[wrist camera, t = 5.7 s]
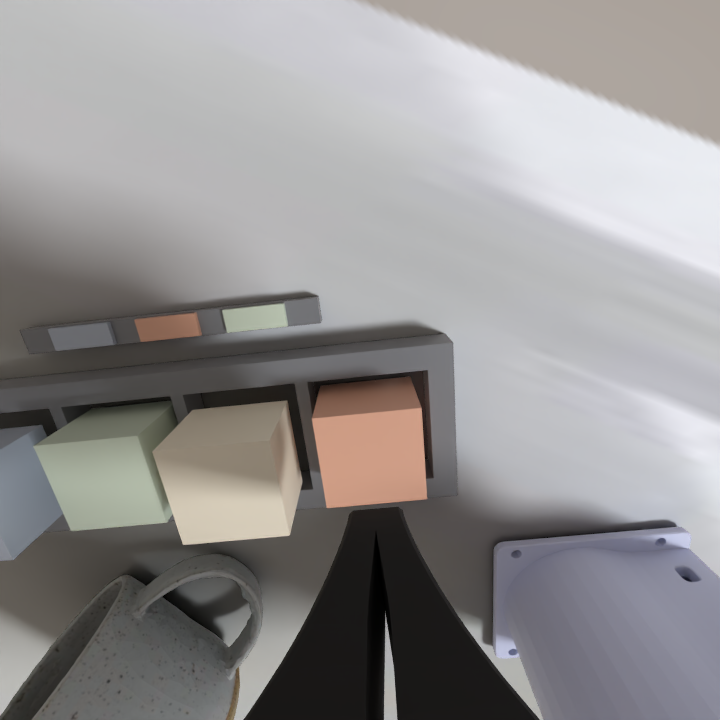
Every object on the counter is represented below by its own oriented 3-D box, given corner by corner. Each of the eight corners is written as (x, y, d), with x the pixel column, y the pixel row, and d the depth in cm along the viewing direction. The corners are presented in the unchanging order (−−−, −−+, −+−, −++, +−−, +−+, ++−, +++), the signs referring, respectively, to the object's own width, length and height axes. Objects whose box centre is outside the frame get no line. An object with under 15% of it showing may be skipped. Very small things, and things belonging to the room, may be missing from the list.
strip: (318, 296, 15) (316, 298, 14) (321, 320, 15) (319, 324, 14) (30, 327, 15) (15, 331, 14) (39, 350, 15) (25, 355, 15)
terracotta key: (410, 376, 15) (421, 407, 13) (415, 454, 17) (427, 499, 14) (320, 385, 16) (311, 418, 13) (332, 462, 17) (326, 508, 14)
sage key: (177, 399, 16) (137, 435, 13) (199, 474, 17) (166, 522, 14) (91, 408, 16) (33, 445, 13) (119, 482, 17) (71, 531, 14)
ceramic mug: (186, 689, 22) (104, 907, 15) (67, 620, 20) (-93, 831, 13) (305, 596, 20) (278, 797, 13) (185, 509, 18) (73, 686, 11)
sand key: (287, 400, 14) (269, 440, 12) (302, 481, 16) (289, 535, 13) (192, 409, 15) (152, 451, 12) (214, 489, 16) (183, 544, 13)
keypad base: (445, 333, 15) (452, 342, 14) (450, 475, 17) (457, 495, 16) (-62, 386, 16) (-100, 400, 15) (4, 516, 18) (-24, 538, 17)
